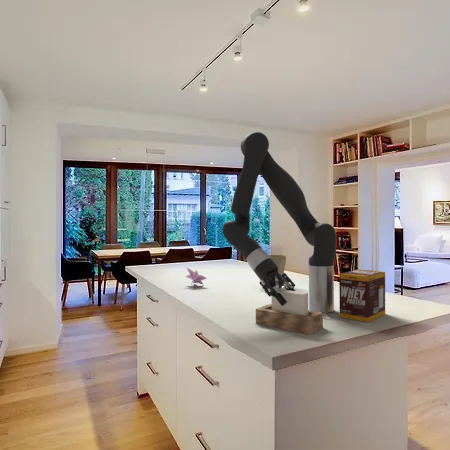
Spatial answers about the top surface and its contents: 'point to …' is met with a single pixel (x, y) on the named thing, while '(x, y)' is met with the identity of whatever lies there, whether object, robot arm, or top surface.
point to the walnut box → (290, 320)
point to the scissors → (333, 319)
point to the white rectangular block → (292, 302)
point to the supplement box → (362, 294)
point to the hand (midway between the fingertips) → (291, 301)
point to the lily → (195, 277)
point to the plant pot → (279, 262)
